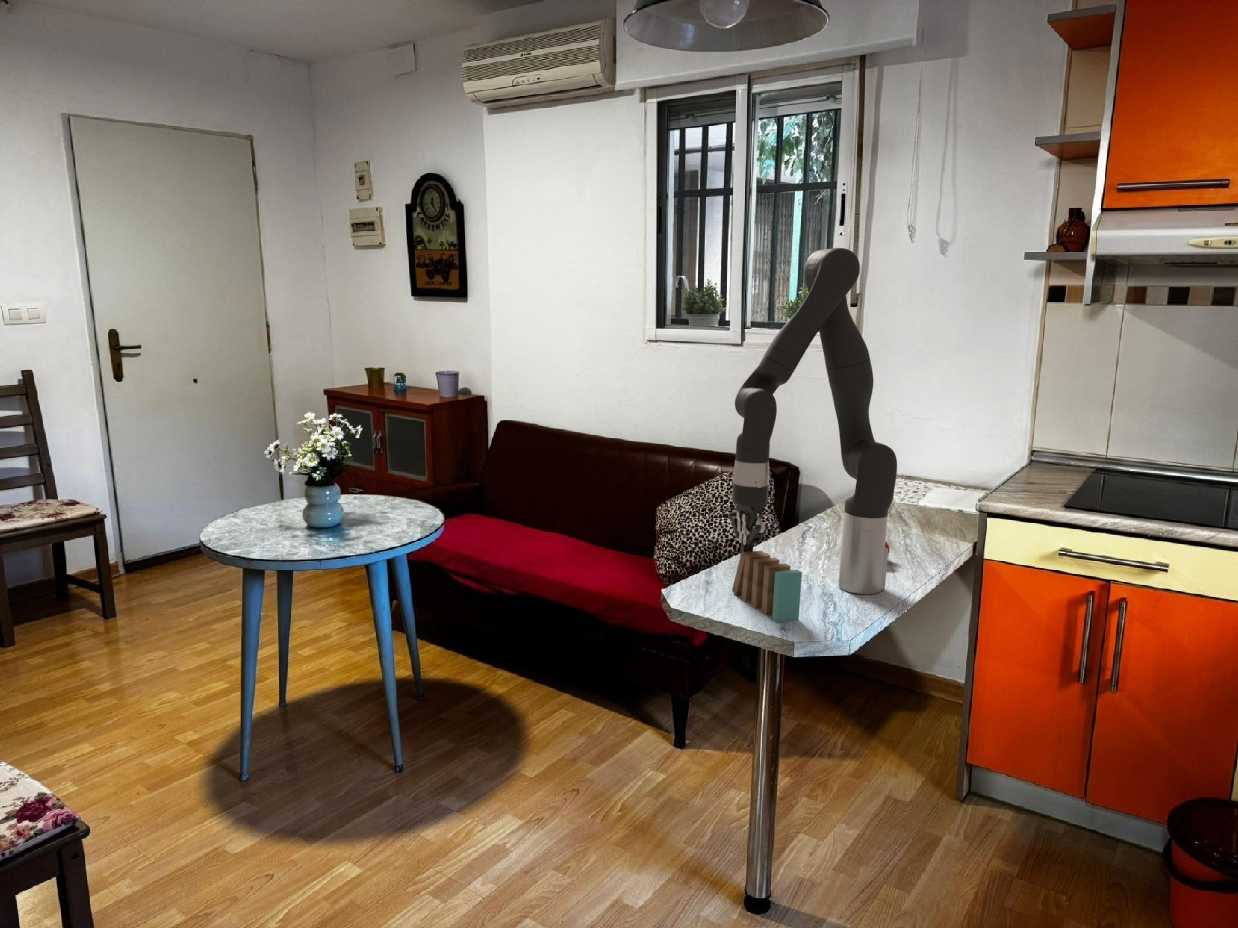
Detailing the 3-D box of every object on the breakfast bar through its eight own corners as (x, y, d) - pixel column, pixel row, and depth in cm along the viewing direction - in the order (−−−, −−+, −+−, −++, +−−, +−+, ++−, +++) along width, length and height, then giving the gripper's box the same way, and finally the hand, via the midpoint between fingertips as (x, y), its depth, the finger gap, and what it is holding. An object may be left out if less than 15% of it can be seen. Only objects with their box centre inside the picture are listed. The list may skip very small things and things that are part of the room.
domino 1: (752, 588, 187) (761, 550, 182) (755, 593, 185) (765, 555, 181) (731, 590, 185) (741, 552, 181) (735, 595, 184) (745, 557, 179)
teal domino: (793, 617, 172) (796, 569, 170) (798, 620, 170) (802, 572, 168) (772, 619, 170) (775, 571, 168) (776, 622, 168) (780, 574, 166)
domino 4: (782, 610, 176) (785, 563, 174) (787, 613, 174) (790, 565, 172) (761, 612, 174) (764, 565, 172) (766, 615, 172) (769, 567, 170)
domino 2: (761, 596, 183) (766, 552, 181) (765, 599, 182) (770, 555, 179) (741, 598, 181) (745, 554, 179) (745, 601, 180) (749, 557, 177)
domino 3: (771, 603, 179) (774, 557, 178) (776, 606, 178) (779, 560, 176) (751, 605, 178) (753, 559, 176) (755, 608, 176) (758, 561, 174)
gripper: (720, 476, 185) (716, 553, 189) (750, 488, 173) (746, 570, 176) (750, 474, 188) (746, 550, 191) (782, 487, 176) (777, 567, 179)
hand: (746, 560), depth 184 cm, fingers closed
